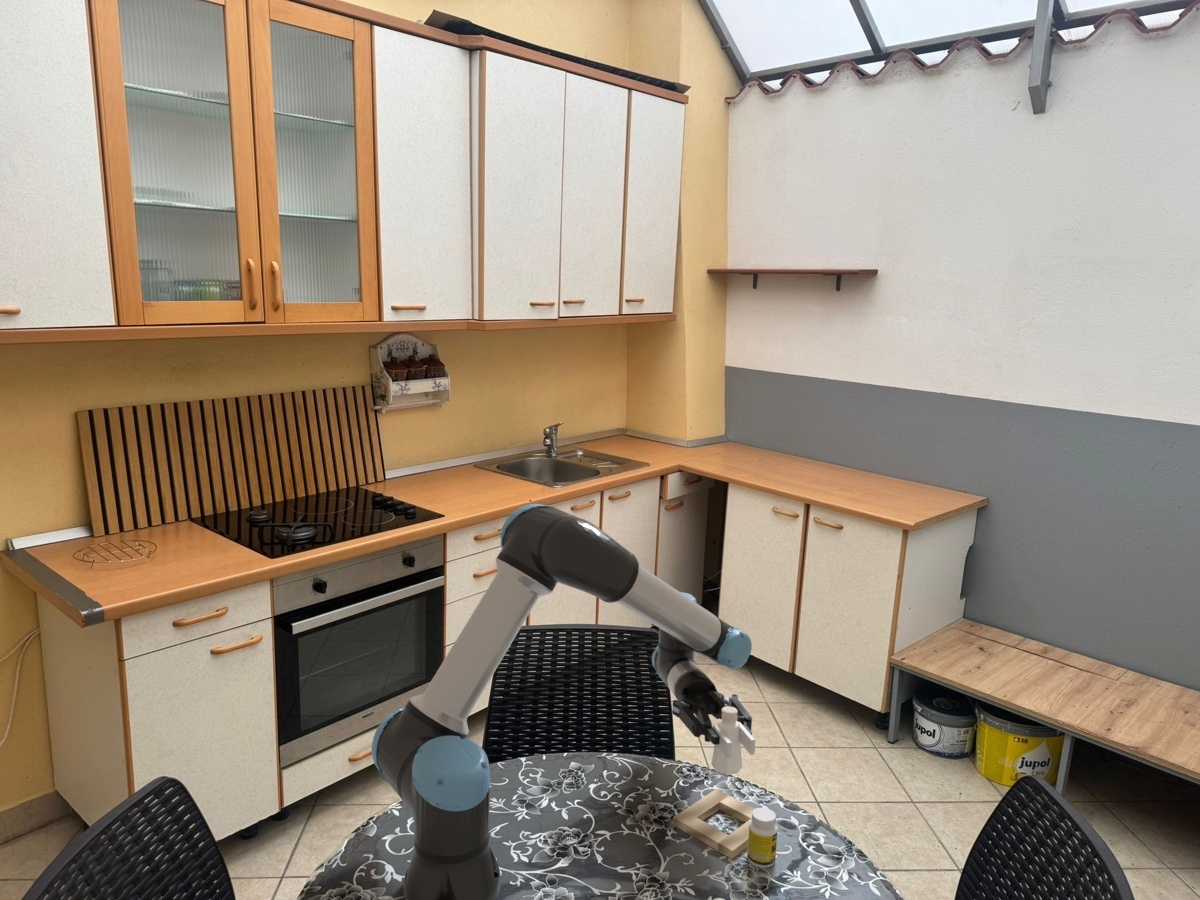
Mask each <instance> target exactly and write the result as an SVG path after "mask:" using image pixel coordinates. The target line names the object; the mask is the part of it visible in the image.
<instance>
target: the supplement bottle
mask: <svg viewBox="0 0 1200 900" xmlns="http://www.w3.org/2000/svg"><path fill="white" fill-rule="evenodd" d="M776 823H777V815H776V813H775V812H774V811H773V810H772V809H769V808H767V807H756V808H755V809H754V810H753V812H752V820H751V822H750V824H749V837H748V847H747V855H746V856H747V860H748V861H749V863H750V864H752V865H753V866H755V867H758V868H762V869H763V868H765V869H766V868H770V867H772V866H773V865H774V864H775V863H776V858H777V843H778V841H777V840H778V826H777V824H776Z"/></svg>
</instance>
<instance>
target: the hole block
mask: <svg viewBox="0 0 1200 900" xmlns="http://www.w3.org/2000/svg"><path fill="white" fill-rule="evenodd" d="M754 809H756V808H754V807H753V806H751V805H749V804H747V803H746V802H743V801H741V800H739V799H737V798H735V797H733V796H731V795H729V794H727V793H725V792H723V791H721V790H720V789H717V788H715V789H713V790H712V791H711V792H709V793H708V794H706V795H704V796H703V797H702V798H700V799H699V800H697V801H696V802H694V803H693V804H691V805H690V806H689V807H687V808H685V809H684V810H682V811H681V812H678V813H677V814H676V815H675V816H673V817H672V825H673V826H674V827H676V828H678V829H680V830H681V831H683V832H684V833H686V834H688V835H690V836H692V837H694V838H695V839H697V840H698V841H700V842H702V843H704V844H705V845H707V846H709V847H711V848H712V849H714V850H716V851H718V852H720V853H721V854H723V855H725V856H727V858H730V859H733V860H734V858H735V857H736V856H738V855H739V854H740V853H742V852H743V851H745V850H746V849H748V837H749V824H750V822H751V820H752V812H753V810H754ZM719 810H720V811H722V812H723V813H726V814H727V815H730V816H732V818H733V817H734V818H735V819H737V820H739V819H740V820H739V821H741V822H743V824H741V825H740V826H739V827H738V828H736V829H735V830H733V831H732V832H731V833H730V834H728V833H725V832H723V831H722V830H720V829H719V828H716V827H715V826H713V825H711V824H709V823H708V822H705V820H706V819H708V818H709V817H710V816H711V815H713V814H715V813H716V812H718V811H719ZM744 822H745V823H744Z"/></svg>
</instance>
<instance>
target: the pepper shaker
mask: <svg viewBox="0 0 1200 900" xmlns="http://www.w3.org/2000/svg"><path fill="white" fill-rule="evenodd" d="M721 711H722V719H719V721H718V722H717V725H718V726H719V727H720V729H721V730H722V731H723V732H724V734H725V735H726V736H727V737H728V739H729V740H730V741H731V742H732V746H731V757H729V758H727V757H726V756H725V755H724V753H723V752H722V751H721V749H720V748H719V747H718V745H717V744H716V745H714V744H713V752H712V758H711V766H712V768H713V769H714V770H715V771H716V772H717V773H721V774H723V775H734V774H738V773H739V772H740V771H741V770H742V769H743V758H742V744H741V743H740V725H739V723H738V722H737V720H736V719H737V712H738V711H737V709H736V708H734V707H730V706H727V705H726V707H723V708H722V710H721Z"/></svg>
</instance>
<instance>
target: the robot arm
mask: <svg viewBox="0 0 1200 900" xmlns="http://www.w3.org/2000/svg"><path fill="white" fill-rule="evenodd" d="M499 536H500V537H499V538H500V547H501V550H500V552H499V554H497V557H495V558H496V559H495V565H496V568H497V570H496V571H497V573H496V574H495V576H494V578H493V579H492V582H491V583H490V584H489V586H488V588H487V589H486V591H485V592H484V595H483V596H482V597H481V599H480V600H479V603H478V604H477V606H476V607H475V609H474V610H473V612H472V614H471V615H470V617H469V619H468V620H467V621H466V624H465V625H464V627H463V628H462V630H461V632H460V633H459V635H458V637H457V638H456V640H455V642H454V643H453V645H452V646H451V648H450V649H449V651H448V653H447V655H446V656H445V658H444V659H443V661H442V663H441V664H440V666H439V668H438V669H437V671H436V673H435V674H434V676H433V677H432V679H431V681H430V682H429V684H428V685H427V687H426V689H425V690H424V692H423V693H421V694H417V695H415V696H411V697H410V698H409V700H408V701H407V703H406V705H405V706H404V707H400V708H398V709H397V710H396V711H395V712H390V713H389V714H388V715H387V716H385V718H383V720H382V721H381V722H380V723H379V725H378V727H377V728H376V730H375V731H374V734H373V738H372V742H371V755H372V760H373V763H374V765H375V767H376V768H377V770H378V773H379V775H380V777H381V778H382V779H383V780H384V781H385V783H387V784H388V785H389V786H390V787H391V788H392V789H393V791H394V792H395V793H396V794H397V795H398V797H399V798H400V799H401V800H402V801H403V802H404V804H405V805H406V806H407V807H408V808H409V810H410V811H411V812H412V813H411V814H412V815H413V830H414V832H413V837H414V838H413V839H414V841H413V843H414V847H413V852H412V855H411V858H410V862H409V866H408V868H407V870H406V872H405V875H404V878H403V899H404V898H405V900H497V899H498V897H499V895H500V892H501V870H500V866H499V864H498V860H497V857H496V855H495V852H494V849H493V847H492V844H491V843H490V842H491V841H490V798H491V797H490V794H491V793H490V788H491V787H490V786H491V770H490V764H489V758H488V755H487V753H486V752H485V750H484V748H482V746H480V745H479V744H478V743H477V742H475V741H474V740H472V739H470V738H468V737H467V736H468V735H469V733H470V731H469V727H468V717H469V716H470V714H471V712H472V711H473V708H474V707H475V705H476V704H477V702H478V701H479V699H480V698H481V696H482V694H483V692H484V690H485V689H486V687H487V685H488V684H489V683H490V680H491V679H492V677H493V676H494V673H495V672H496V670H497V668H498V667H499V665H500V663H501V662H502V660H503V659H504V656H505V655H506V654H507V652H508V650H509V648H510V647H511V645H512V643H513V641H514V640H515V638H516V637H517V635H518V633H519V631H520V630H521V628H522V627H523V625H524V623H525V621H526V620H527V618H528V617H529V615H530V613H531V612H532V609H533V608H534V606H535V605H536V603H537V602H538V599H539V598H540V597H543V596H546V595H550V594H553V591H554V589H555V588H556V586H557V585H558V583H559V584H562V585H563V586H564V585H565V586H568V587H571V588H573V589H576V590H579V591H582V592H584V593H586V594H589V595H591V596H594V597H596V598H598V599H600V600H601V601H602V602H604V603H607V604H615V603H618V604H619V605H621V606H622V607H623V608H625V609H627V610H628V611H631V612H632V613H634V614H635V615H636V616H638V617H641V618H642V619H644V620H645V621H647V622H649V623H651V624H652V625H654V626H656V627H657V628H658V645H657V646H656V647H655V649H654V651H653V652H652V655H651V662H652V663H651V664H652V666H653V668H654V671H655V672H656V674H657V676H658V677H659V678H660V679H661V680H662V682H663V683H664V684H665V686H666V687H667V688H668V690H669V691H670V692H671V693H672V695H673V696H674V697H675V699H674V700H672V703H671V705H672V710H671V714H672V715H674V716H675V717H677V718H679V720H680V721H681V722H682V723H683V724H684V726H685V727H686V728H687V730H689V732H690V733H691V734H692V735H693V736H694V737H695V738H700V737H701V736H704V742H708V743H711V744H713V746H714V745H716V744H717V745H718V747H719V748H720V749H721V751H722V752H723V753H724V755H725V756H726V757H727V758H729V757H731V746H732V742H731V741H730V740H729V739H728V737H727V736H726V735H725V734H724V732H723V731H722V730H721V729H720V727H719V726H718V723H717V724H716V723H715V724H714V723H712V720H711V718H710V716H709V715H711V716H713V718H715V719H716V720H721V719H722V711H721V710H722V708H723V707H726V706H730V707H734V708H736V709H737V711H738V712H737V719H736V720H737V722H738V723H739V725H740V743H741V746H742V747H744V750H746V751H747V752H748V754H749V755H750V756H751V755H752V756H753V755H755V754H756V753H755V751H756V739H755V738H754V736H753V735H752V734H753V732H752V723H753V717H752V715H751V714H750V713H749V712H748V710H747V709H746V707H744V705H743V703H742V702H741V701H740V700H739V695H738V694H737V693H732V694H731V696H730V697H728V696H727V697H726V696H724V694H723V693H721V692H719V691H718V689H717V687H716V685H715V683H714V682H713V681H712V680H711V679H710V678H709V676H707V673H705V672H704V670H702V668H700V666H699V665H698V664H697V662H695V653H698V654H700V655H702V656H703V657H706V658H707V659H709V660H711V661H713V662H715V663H717V664H718V665H720V666H722V667H726V668H728V669H730V670H737V669H740V668H741V667H743V666H744V665H745V664H746V663H747V661H748V659H749V657H750V655H751V654H752V649H753V648H752V647H753V645H752V644H753V643H752V640H751V638H750V635H749V634H747V632H745V631H743V630H740V628H739V627H734V626H732V625H730V624H728V623H727V622H725V621H724V620H722V618H720V617H717V616H716V615H715V614H714V613H712V612H710V611H709V610H708V609H706V608H704V607H703V606H702V605H700V604H698V602H697V598H696V597H695V596H694V595H692V594H690V593H687V592H683V591H680V590H677V589H676V588H675V587H673V586H671V585H670V584H668V583H667V582H665V581H664V580H662V579H661V578H659V577H658V576H656V575H655V574H653V573H652V572H651V571H649V570H647V569H646V568H644V567H643V566H641V565H640V561H639V559H638V557H637V556H636V555H635V554H634V553H633V552H632V551H630V550H628V549H627V548H626V547H625V546H623V545H621V543H619V542H618V541H617V540H616V539H614V538H613V537H611V536H610V535H609V534H607V533H606V532H604V530H602V529H601V528H600V527H598V526H597V525H595V524H594V523H592V522H590V521H588V520H586V519H585V518H582V517H578V516H575V515H573V514H571V513H569V512H566V511H564V510H561V509H558V508H557V507H554V506H550V505H547V504H546V505H545V504H540V503H531V504H527V505H523V506H521V507H519V508H517V509H515V510H514V511H513V512H511V514H510V515H509V516H508V517H507V518H506V520H505V521H504V523H503V525H502V528H501V529H500V535H499Z"/></svg>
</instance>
